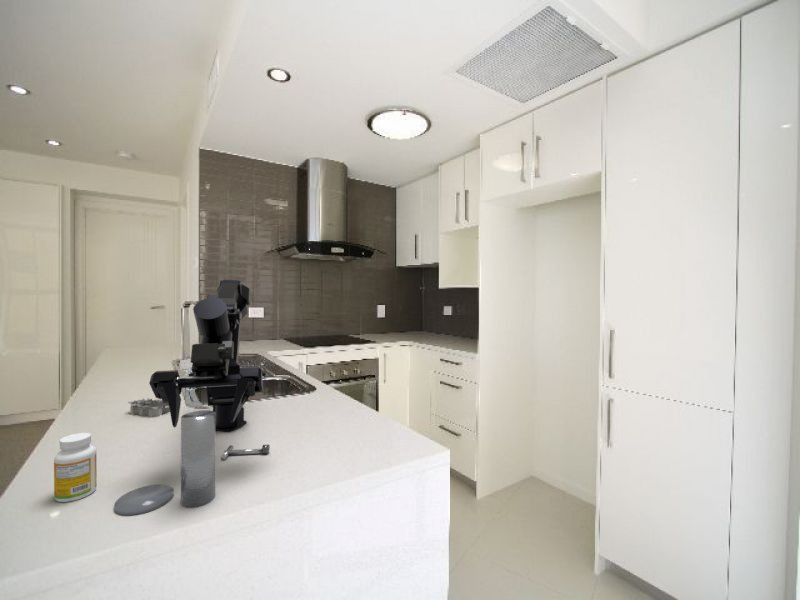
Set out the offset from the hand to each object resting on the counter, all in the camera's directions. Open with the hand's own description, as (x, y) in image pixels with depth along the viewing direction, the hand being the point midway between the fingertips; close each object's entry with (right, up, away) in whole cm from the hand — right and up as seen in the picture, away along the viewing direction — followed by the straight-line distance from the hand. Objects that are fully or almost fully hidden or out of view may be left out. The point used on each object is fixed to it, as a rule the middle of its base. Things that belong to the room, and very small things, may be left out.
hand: (203, 423), depth 65 cm
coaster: (-7, -11, -5) cm, 14 cm away
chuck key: (+2, -11, +13) cm, 17 cm away
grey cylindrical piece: (+1, -11, -4) cm, 12 cm away
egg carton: (-35, -10, +39) cm, 54 cm away
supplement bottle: (-20, -11, -3) cm, 23 cm away
